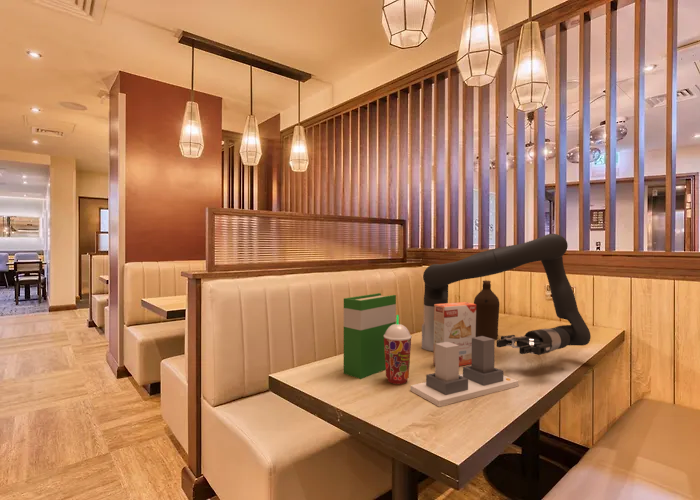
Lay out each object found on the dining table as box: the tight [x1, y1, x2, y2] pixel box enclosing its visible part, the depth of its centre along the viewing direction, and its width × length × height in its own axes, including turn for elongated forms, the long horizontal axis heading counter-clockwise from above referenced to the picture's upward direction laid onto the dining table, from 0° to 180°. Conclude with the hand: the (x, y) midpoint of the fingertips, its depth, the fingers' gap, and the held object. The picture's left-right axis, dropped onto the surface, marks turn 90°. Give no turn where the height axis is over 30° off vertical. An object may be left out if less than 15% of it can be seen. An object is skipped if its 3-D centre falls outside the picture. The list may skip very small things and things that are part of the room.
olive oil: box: [473, 280, 500, 341], centre depth 168 cm, size 11×11×25 cm
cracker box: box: [432, 301, 476, 367], centre depth 132 cm, size 14×6×21 cm, turn 115°
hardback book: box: [343, 292, 397, 380], centre depth 126 cm, size 18×7×24 cm, turn 136°
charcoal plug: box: [471, 336, 496, 374], centre depth 113 cm, size 4×4×12 cm
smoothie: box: [384, 314, 412, 385], centre depth 116 cm, size 8×8×20 cm
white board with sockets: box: [409, 342, 520, 408], centre depth 110 cm, size 12×30×14 cm, turn 118°
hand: (508, 347), depth 118 cm, fingers open, 8 cm apart
